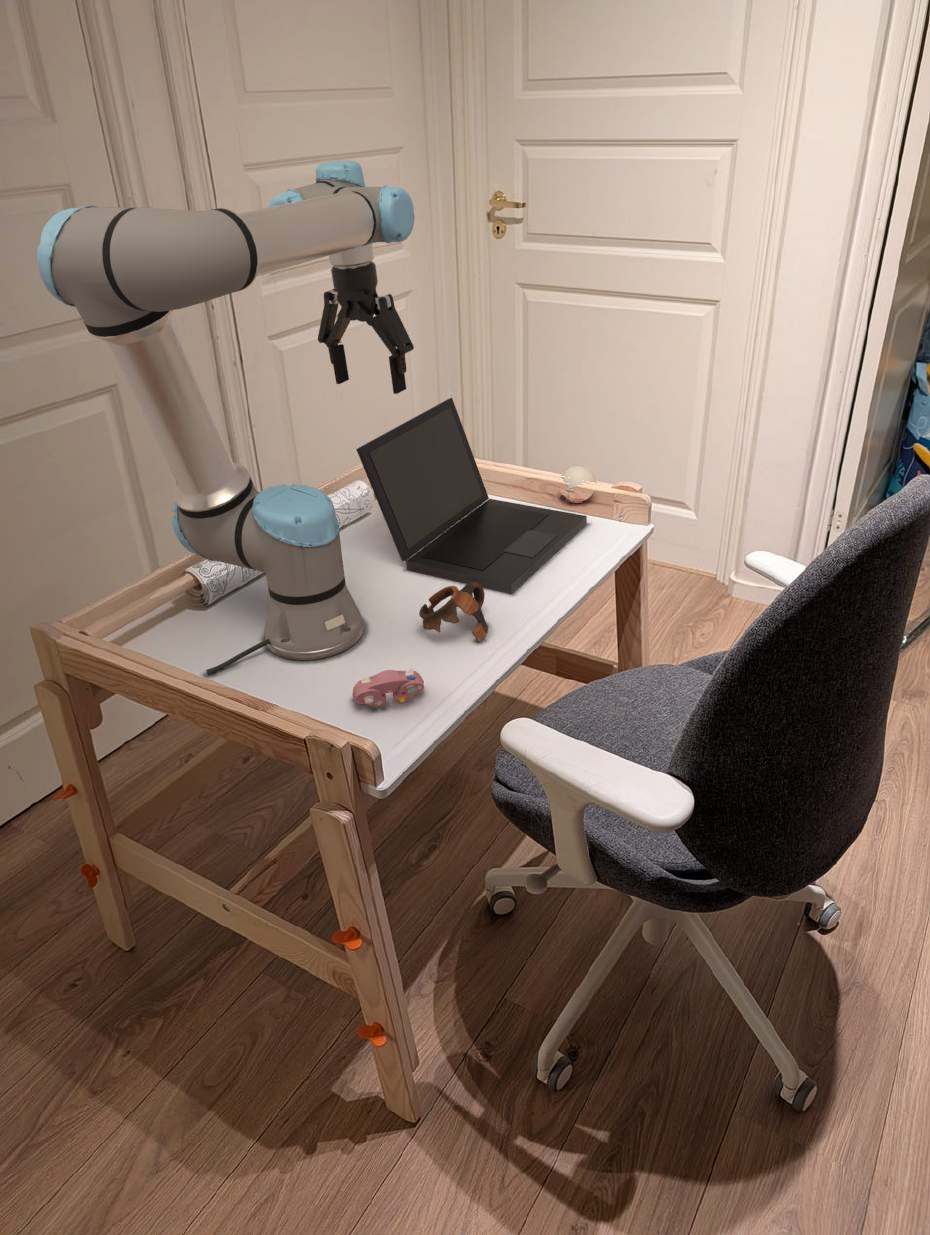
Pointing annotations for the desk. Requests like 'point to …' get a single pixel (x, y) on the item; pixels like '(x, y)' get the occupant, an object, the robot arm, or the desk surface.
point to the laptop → (497, 545)
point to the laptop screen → (423, 477)
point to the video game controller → (388, 687)
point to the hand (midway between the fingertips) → (370, 386)
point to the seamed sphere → (577, 477)
